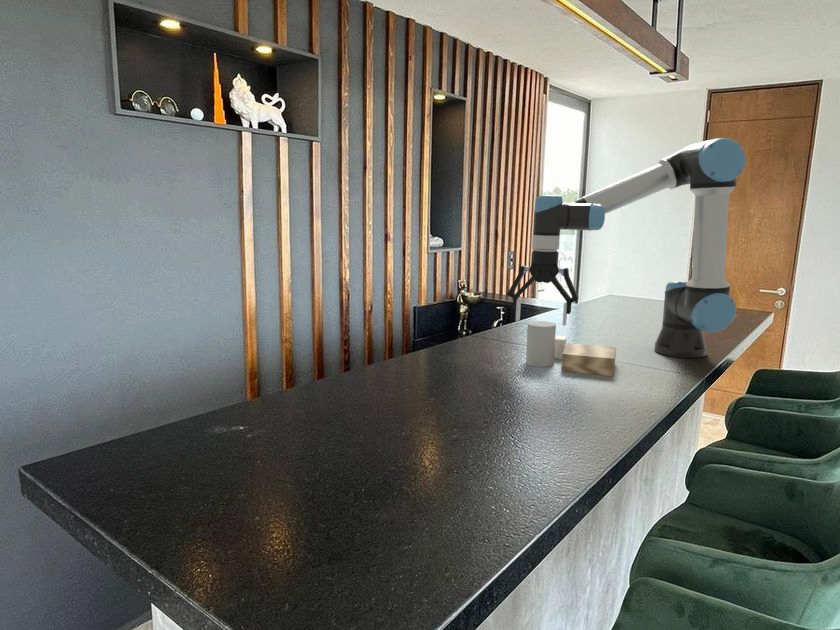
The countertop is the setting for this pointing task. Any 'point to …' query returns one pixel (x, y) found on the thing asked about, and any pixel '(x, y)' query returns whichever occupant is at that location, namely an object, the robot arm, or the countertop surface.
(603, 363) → the oak block
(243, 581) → the countertop surface
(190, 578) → the countertop surface
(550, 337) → the grey cylinder
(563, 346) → the cream block
